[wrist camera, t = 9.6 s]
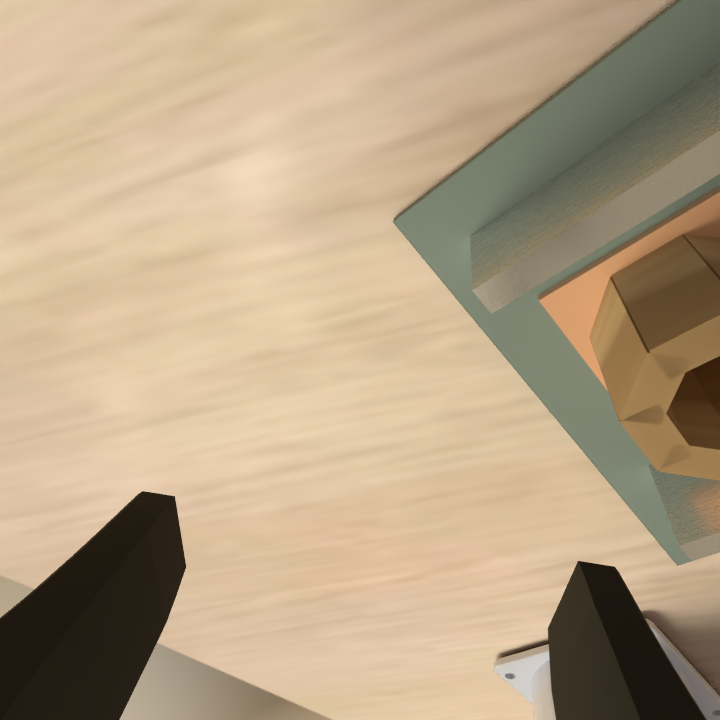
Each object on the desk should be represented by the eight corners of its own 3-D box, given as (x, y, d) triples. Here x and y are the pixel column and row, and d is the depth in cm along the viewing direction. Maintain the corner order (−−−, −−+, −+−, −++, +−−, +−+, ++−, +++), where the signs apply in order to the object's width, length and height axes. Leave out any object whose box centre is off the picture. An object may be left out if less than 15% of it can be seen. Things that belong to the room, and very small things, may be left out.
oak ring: (812, 334, 17) (900, 424, 13) (644, 412, 19) (683, 504, 16) (739, 200, 15) (818, 265, 12) (563, 303, 17) (588, 381, 14)
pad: (832, 333, 17) (837, 338, 17) (634, 423, 20) (636, 428, 19) (746, 169, 15) (750, 173, 15) (537, 295, 18) (538, 300, 17)
